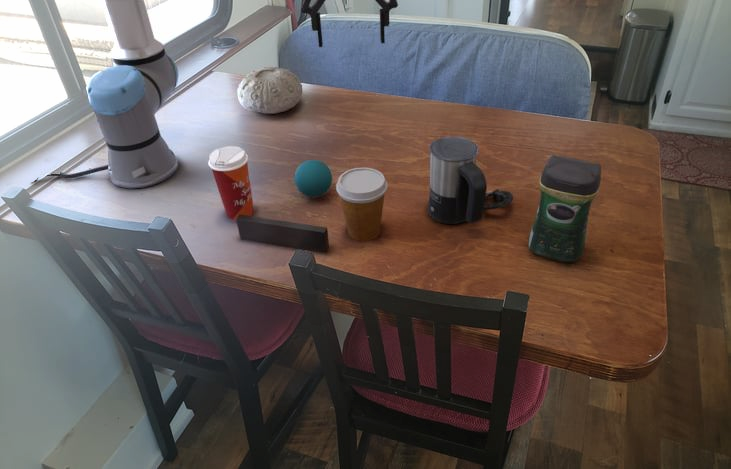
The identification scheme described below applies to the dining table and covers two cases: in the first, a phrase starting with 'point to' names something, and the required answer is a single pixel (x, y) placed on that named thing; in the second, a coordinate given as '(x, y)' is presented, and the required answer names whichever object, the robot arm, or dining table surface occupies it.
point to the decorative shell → (269, 90)
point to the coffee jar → (564, 208)
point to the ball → (313, 178)
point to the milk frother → (459, 183)
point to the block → (283, 233)
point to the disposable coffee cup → (362, 201)
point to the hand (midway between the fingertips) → (351, 43)
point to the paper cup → (232, 180)
